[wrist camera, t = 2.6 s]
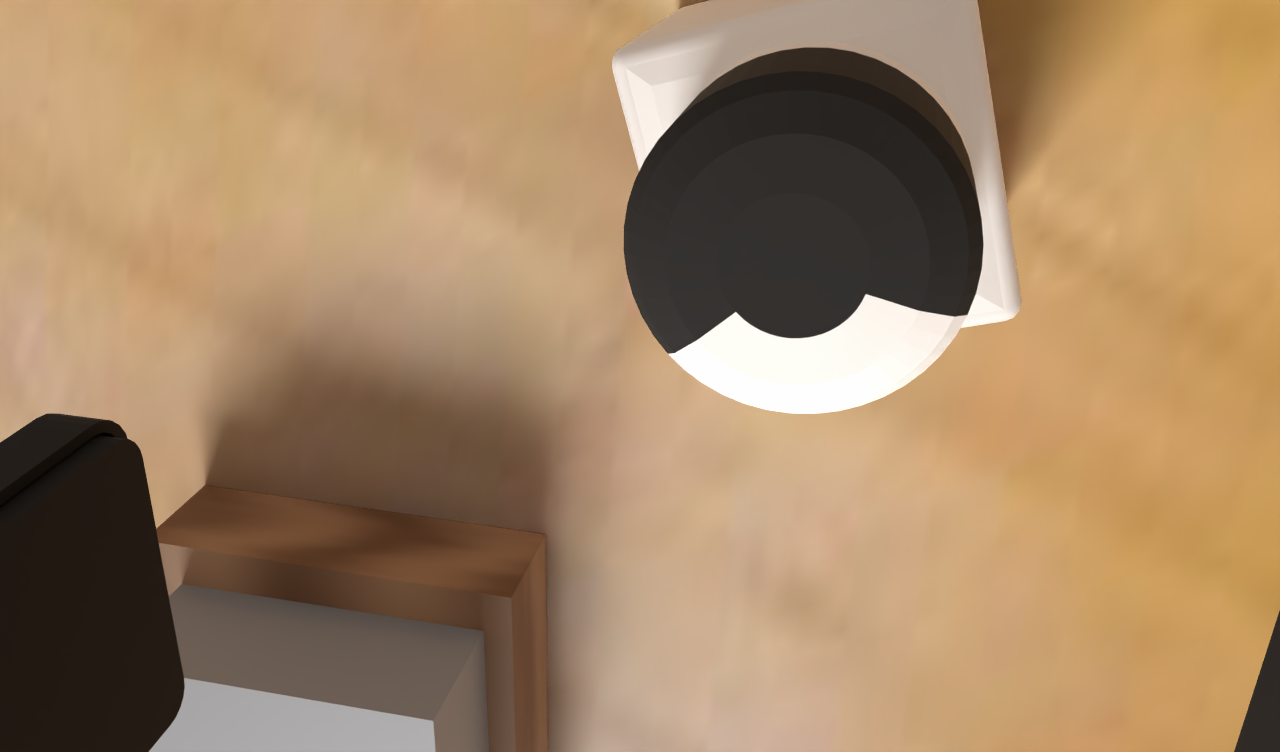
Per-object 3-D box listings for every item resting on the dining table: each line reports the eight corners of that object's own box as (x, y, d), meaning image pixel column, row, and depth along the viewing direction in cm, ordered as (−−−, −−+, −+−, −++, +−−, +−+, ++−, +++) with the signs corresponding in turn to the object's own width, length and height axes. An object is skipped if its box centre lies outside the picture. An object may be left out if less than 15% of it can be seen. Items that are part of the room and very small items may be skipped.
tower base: (550, 526, 37) (511, 597, 34) (552, 803, 42) (519, 891, 39) (213, 478, 39) (143, 540, 36) (254, 747, 44) (196, 825, 41)
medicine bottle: (670, 9, 29) (530, 99, 18) (958, -66, 27) (987, -11, 16) (733, 271, 32) (642, 484, 21) (1001, 222, 30) (1051, 431, 19)
